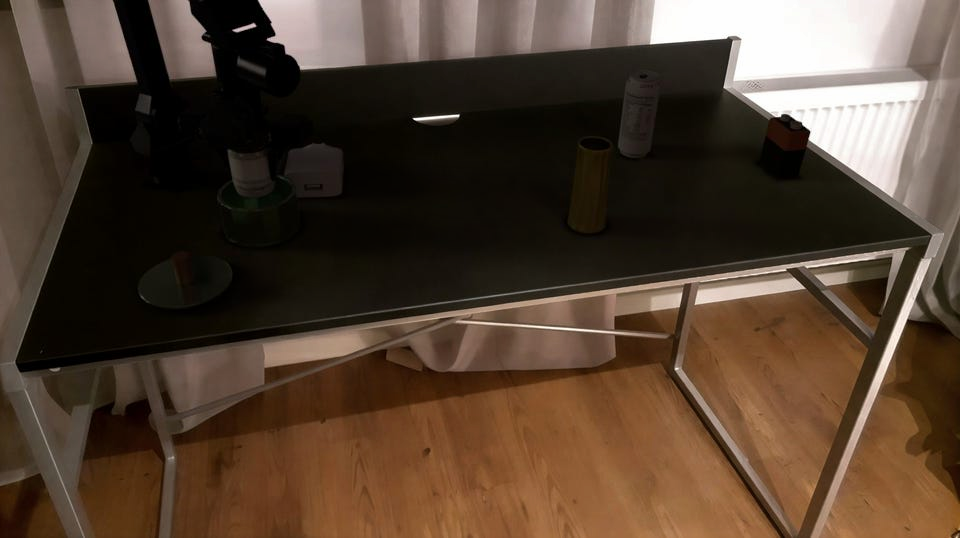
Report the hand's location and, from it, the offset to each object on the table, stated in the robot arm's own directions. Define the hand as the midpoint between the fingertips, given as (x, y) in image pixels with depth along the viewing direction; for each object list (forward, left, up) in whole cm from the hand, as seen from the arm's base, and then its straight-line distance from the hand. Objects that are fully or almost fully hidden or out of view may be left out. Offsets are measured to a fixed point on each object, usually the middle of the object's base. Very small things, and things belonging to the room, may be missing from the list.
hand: (253, 176), depth 120 cm
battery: (+80, +43, -9) cm, 91 cm away
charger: (+1, +18, -9) cm, 20 cm away
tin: (0, 0, -9) cm, 9 cm away
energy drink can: (+54, +43, -9) cm, 70 cm away
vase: (+49, +15, -9) cm, 52 cm away
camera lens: (0, 0, -2) cm, 2 cm away
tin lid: (-3, -17, -8) cm, 19 cm away
